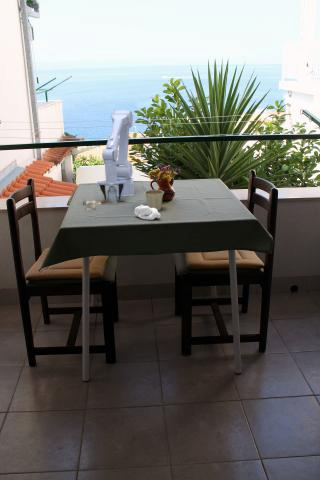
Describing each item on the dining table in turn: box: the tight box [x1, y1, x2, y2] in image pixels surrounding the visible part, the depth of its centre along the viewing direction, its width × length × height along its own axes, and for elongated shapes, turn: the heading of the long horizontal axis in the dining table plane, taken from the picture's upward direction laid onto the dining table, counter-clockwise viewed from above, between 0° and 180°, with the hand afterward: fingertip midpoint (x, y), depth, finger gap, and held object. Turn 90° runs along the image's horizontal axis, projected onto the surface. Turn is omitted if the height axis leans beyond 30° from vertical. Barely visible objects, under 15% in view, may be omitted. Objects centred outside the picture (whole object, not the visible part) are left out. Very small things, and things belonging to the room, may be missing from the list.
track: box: [82, 198, 118, 206], centre depth 253 cm, size 17×6×2 cm, turn 96°
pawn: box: [107, 185, 118, 204], centre depth 252 cm, size 4×4×8 cm
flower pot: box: [144, 189, 165, 212], centre depth 239 cm, size 9×9×9 cm
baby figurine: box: [134, 204, 161, 221], centre depth 227 cm, size 9×12×8 cm
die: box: [85, 200, 96, 211], centre depth 242 cm, size 4×4×4 cm
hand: (112, 199), depth 253 cm, fingers open, 6 cm apart
